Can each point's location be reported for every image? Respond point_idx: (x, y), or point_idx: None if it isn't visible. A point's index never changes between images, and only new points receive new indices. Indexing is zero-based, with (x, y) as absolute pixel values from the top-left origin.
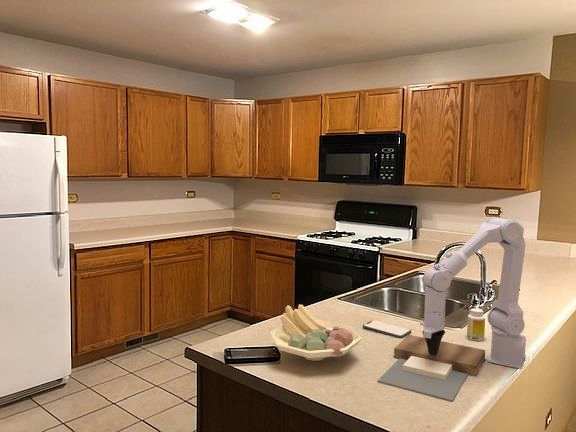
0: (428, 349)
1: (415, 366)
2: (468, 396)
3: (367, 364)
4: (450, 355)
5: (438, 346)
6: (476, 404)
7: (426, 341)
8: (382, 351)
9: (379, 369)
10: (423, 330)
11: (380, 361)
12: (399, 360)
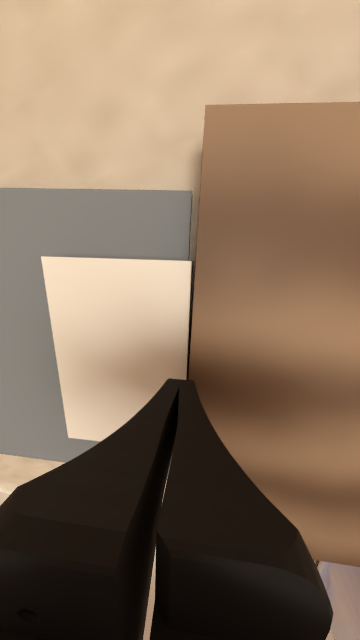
0: (155, 395)
1: (66, 318)
2: (36, 476)
3: (19, 30)
4: (249, 456)
5: (165, 478)
6: (9, 492)
7: (111, 435)
8: (272, 19)
9: (10, 138)
10: (43, 563)
11: (105, 92)
12: (159, 201)
